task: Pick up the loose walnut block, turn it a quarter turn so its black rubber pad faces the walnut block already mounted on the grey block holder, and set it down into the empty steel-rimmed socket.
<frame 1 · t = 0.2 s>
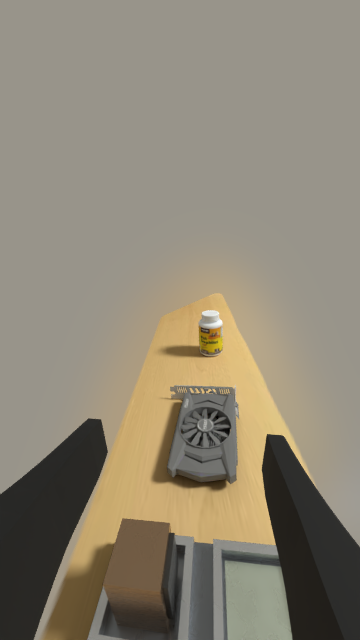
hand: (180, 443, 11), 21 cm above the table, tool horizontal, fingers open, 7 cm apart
grey block holder: (203, 609, 20), on the table
supplement bottle: (211, 352, 60), on the table
graphics card: (199, 435, 38), on the table
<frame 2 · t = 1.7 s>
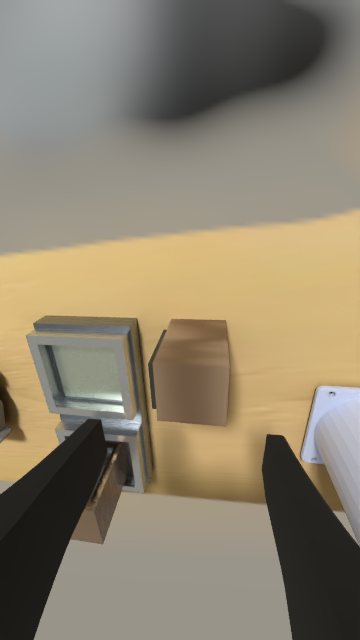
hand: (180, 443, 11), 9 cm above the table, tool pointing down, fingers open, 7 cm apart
grey block holder: (106, 401, 23), on the table
walnut block: (198, 343, 19), on the table
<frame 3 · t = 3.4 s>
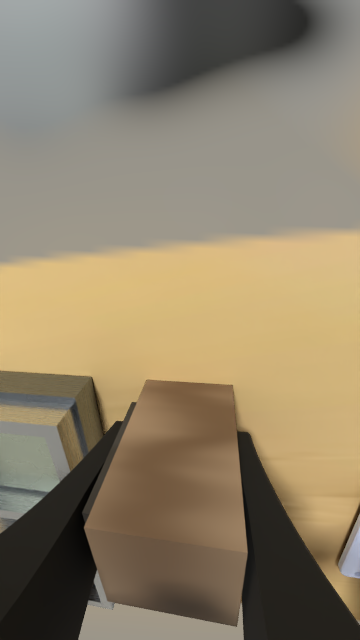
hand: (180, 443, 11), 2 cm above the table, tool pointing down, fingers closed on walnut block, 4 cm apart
grey block holder: (58, 481, 16), on the table
walnut block: (189, 415, 12), on the table, touching gripper
when the fingers open (4 cm above the table, at t = 6.9 s): walnut block stays where it is, resting on grey block holder.
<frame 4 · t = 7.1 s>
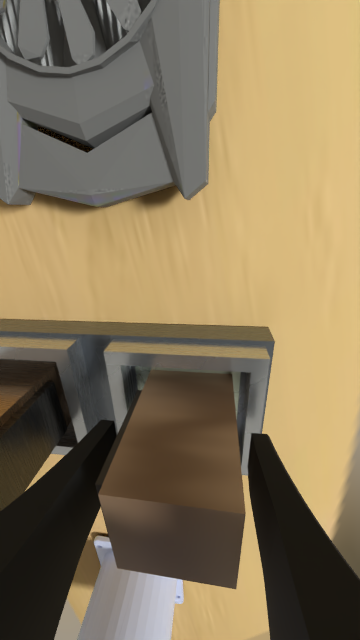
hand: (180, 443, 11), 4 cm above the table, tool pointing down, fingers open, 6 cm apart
grey block holder: (117, 379, 15), on the table
walnut block: (191, 403, 13), point 2 cm above the table, touching grey block holder
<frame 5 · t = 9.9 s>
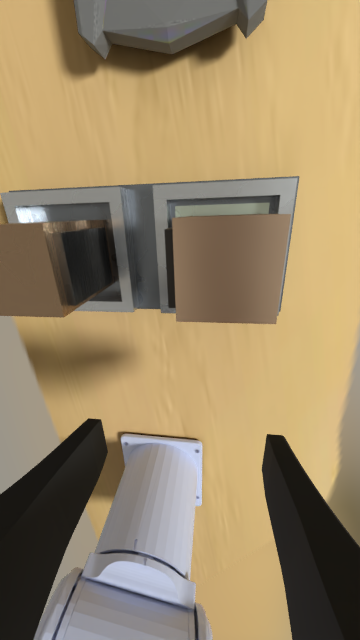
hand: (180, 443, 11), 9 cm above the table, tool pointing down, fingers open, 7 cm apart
grey block holder: (153, 249, 17), on the table
walnut block: (223, 251, 15), point 2 cm above the table, touching grey block holder
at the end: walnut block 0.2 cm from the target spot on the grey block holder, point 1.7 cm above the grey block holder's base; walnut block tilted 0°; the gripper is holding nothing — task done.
